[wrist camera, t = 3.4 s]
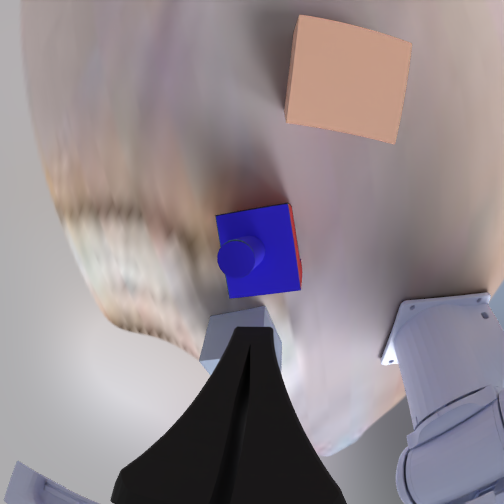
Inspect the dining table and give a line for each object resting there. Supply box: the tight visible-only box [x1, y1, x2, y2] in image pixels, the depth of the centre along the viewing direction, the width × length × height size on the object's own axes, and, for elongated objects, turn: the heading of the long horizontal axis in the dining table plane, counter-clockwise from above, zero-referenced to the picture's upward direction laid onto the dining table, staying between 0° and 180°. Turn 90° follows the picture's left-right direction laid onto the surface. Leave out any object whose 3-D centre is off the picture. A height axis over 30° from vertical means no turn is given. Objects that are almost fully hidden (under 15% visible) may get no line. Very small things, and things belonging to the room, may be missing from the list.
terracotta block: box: [284, 15, 412, 144], centre depth 11 cm, size 4×4×4 cm
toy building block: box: [215, 203, 302, 298], centre depth 15 cm, size 4×4×8 cm
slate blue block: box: [199, 306, 282, 375], centre depth 21 cm, size 4×4×4 cm
